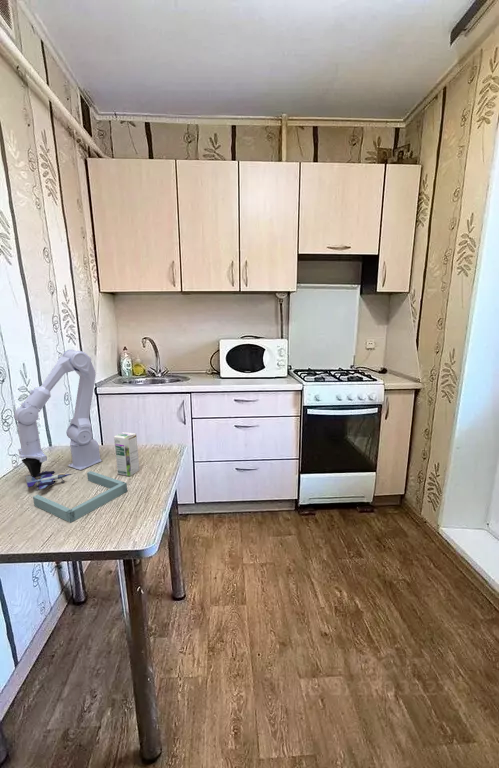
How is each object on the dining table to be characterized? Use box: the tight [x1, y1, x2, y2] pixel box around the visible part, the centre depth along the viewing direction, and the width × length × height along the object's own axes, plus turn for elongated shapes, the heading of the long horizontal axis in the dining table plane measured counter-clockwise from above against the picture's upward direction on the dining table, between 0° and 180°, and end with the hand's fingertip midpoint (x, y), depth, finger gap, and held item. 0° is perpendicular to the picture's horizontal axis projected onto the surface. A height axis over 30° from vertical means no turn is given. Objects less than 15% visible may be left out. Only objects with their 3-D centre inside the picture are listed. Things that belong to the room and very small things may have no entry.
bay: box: [32, 470, 128, 523], centre depth 114 cm, size 20×18×3 cm
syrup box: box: [113, 431, 141, 477], centre depth 131 cm, size 6×6×14 cm
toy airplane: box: [25, 470, 77, 492], centre depth 124 cm, size 13×14×4 cm
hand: (35, 476), depth 128 cm, fingers closed
